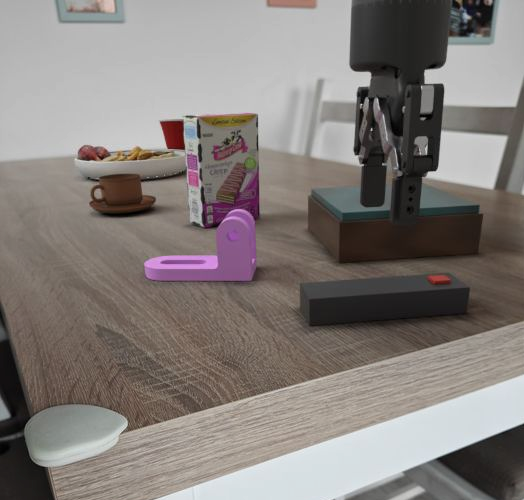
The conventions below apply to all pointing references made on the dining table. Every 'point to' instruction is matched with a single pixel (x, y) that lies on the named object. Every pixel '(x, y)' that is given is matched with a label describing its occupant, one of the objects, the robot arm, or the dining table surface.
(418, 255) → the footstool
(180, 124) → the plastic cup
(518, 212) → the dining table surface
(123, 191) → the cup and saucer
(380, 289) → the remote
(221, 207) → the candy bar box
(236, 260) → the bracket
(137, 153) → the bowl
